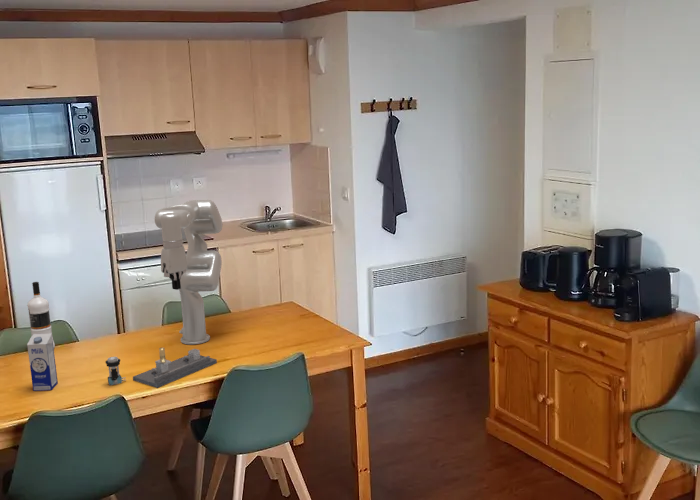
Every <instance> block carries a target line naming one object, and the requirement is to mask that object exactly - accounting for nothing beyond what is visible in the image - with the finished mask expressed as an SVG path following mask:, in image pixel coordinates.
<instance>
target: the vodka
mask: <svg viewBox="0 0 700 500" xmlns="http://www.w3.org/2000/svg"><path fill="white" fill-rule="evenodd" d="M31 285H32V292H33V298H31V299H30V300H29V301H28V302H27V305H26V306H27V311H28V316H29V317H28V318H29V324H30V333H31V334H30V335H31V337H32V336H33V334H52V339H53V347H54V348H55V347H56V345H55V341H54V338H53V332H52V331H53V330H52V325H51V324H52V323H51V316H50V304H49V303H50V302H49V301H48V299H47V298H44V297H42V296H41V292H40V291H41V290H40V283H39V281H33V282H32V283H31Z"/></svg>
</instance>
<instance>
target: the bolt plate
mask: <svg viewBox="0 0 700 500" xmlns="http://www.w3.org/2000/svg"><path fill="white" fill-rule="evenodd" d="M217 363H218V359H215V358H212V357H211V356H209V355H207V356H205V355H201V351H200V349H197V348H192V349H190V350H187V355H184V356H183V357H180V358H177V359H175V360H172V361H171V363H168V371H169V372H167V373H164V374H162V375H159V376H158V375H157V371H155V372H153V370H152V368H151V369H149V370H146V371H144V372H141V373H138V374H136V375H134V376H132V381H134V382H137V383H140V384H142V385H146V386H149V387H153V388H156V389H158V388H160V387H164V386H165V385H169V384H170V383H173V382H175V381H177V380H179V379H182V378H184V377H186V376H189V375H192V374H194V373H197V372H199V371H201V370H204V369H206V368H208V367H211V366H213V365H216V364H217ZM154 368H155V369H156V367H154Z"/></svg>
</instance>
